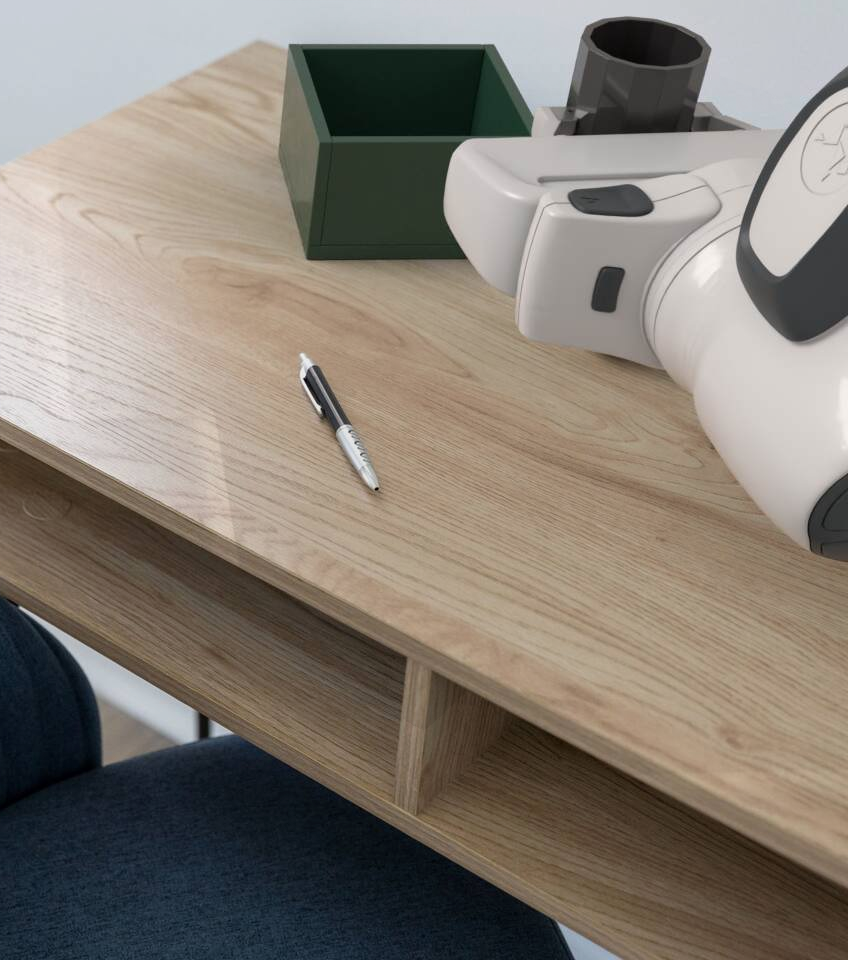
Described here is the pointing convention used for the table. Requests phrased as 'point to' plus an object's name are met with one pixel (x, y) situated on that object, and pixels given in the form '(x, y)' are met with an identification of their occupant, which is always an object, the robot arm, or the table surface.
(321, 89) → the bin
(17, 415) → the table surface
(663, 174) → the robot arm
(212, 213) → the table surface
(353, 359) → the table surface
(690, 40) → the cup
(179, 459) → the table surface
